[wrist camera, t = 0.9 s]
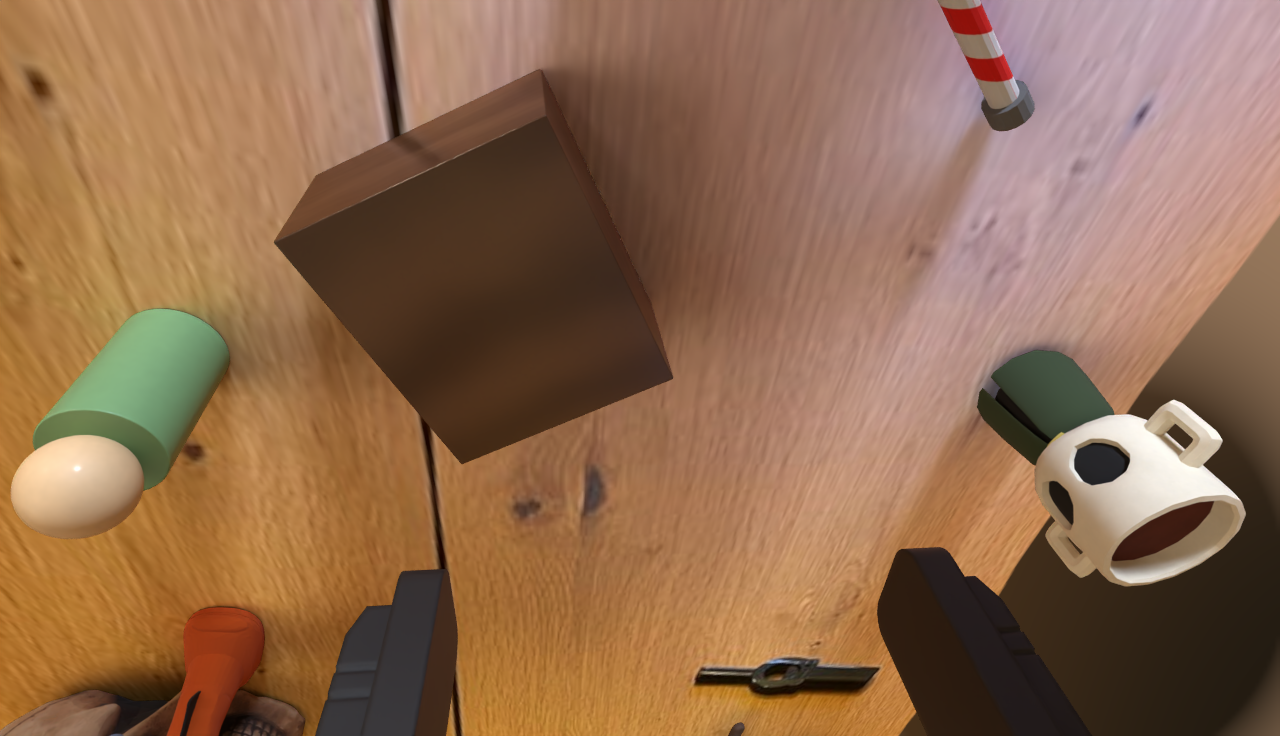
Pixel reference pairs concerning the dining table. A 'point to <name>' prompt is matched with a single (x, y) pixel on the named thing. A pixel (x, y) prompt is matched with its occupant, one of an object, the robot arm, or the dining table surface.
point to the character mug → (1112, 473)
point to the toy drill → (215, 667)
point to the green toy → (119, 425)
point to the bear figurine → (737, 730)
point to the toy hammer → (988, 65)
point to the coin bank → (150, 717)
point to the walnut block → (482, 271)
